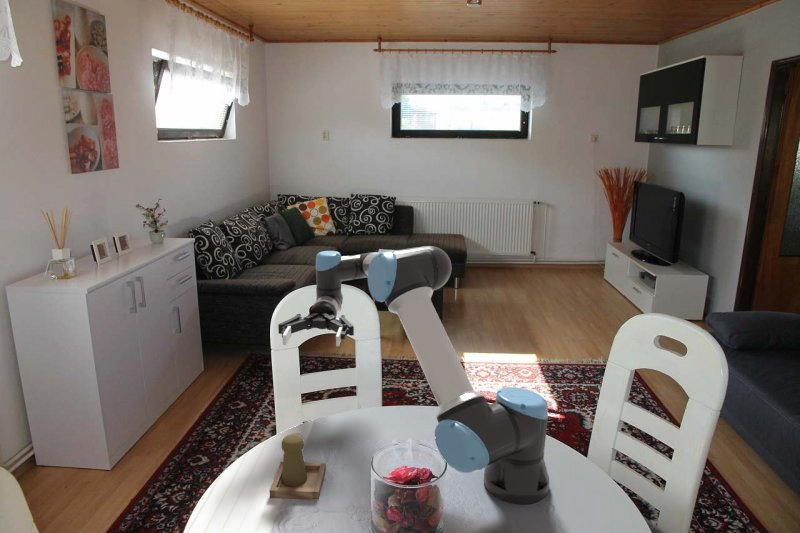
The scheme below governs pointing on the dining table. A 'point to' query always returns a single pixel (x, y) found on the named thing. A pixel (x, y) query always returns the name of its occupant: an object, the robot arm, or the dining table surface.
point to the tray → (303, 491)
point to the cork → (293, 461)
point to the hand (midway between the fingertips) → (310, 340)
